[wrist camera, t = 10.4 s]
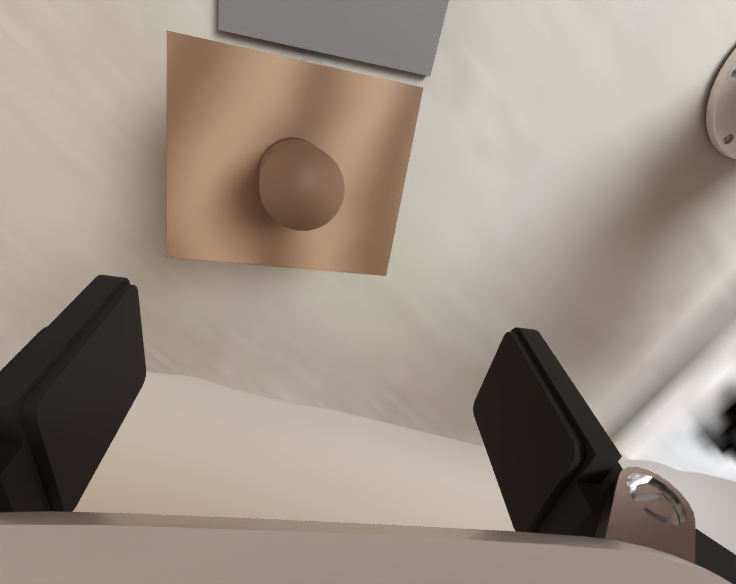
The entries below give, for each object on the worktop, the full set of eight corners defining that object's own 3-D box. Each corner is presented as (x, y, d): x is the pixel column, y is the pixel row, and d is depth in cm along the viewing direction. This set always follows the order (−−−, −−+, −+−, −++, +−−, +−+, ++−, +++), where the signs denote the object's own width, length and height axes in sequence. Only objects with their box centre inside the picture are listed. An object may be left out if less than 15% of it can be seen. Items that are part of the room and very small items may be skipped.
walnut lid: (418, 88, 26) (467, 81, 20) (382, 271, 30) (414, 312, 24) (170, 33, 22) (135, 3, 16) (169, 252, 26) (141, 295, 20)
